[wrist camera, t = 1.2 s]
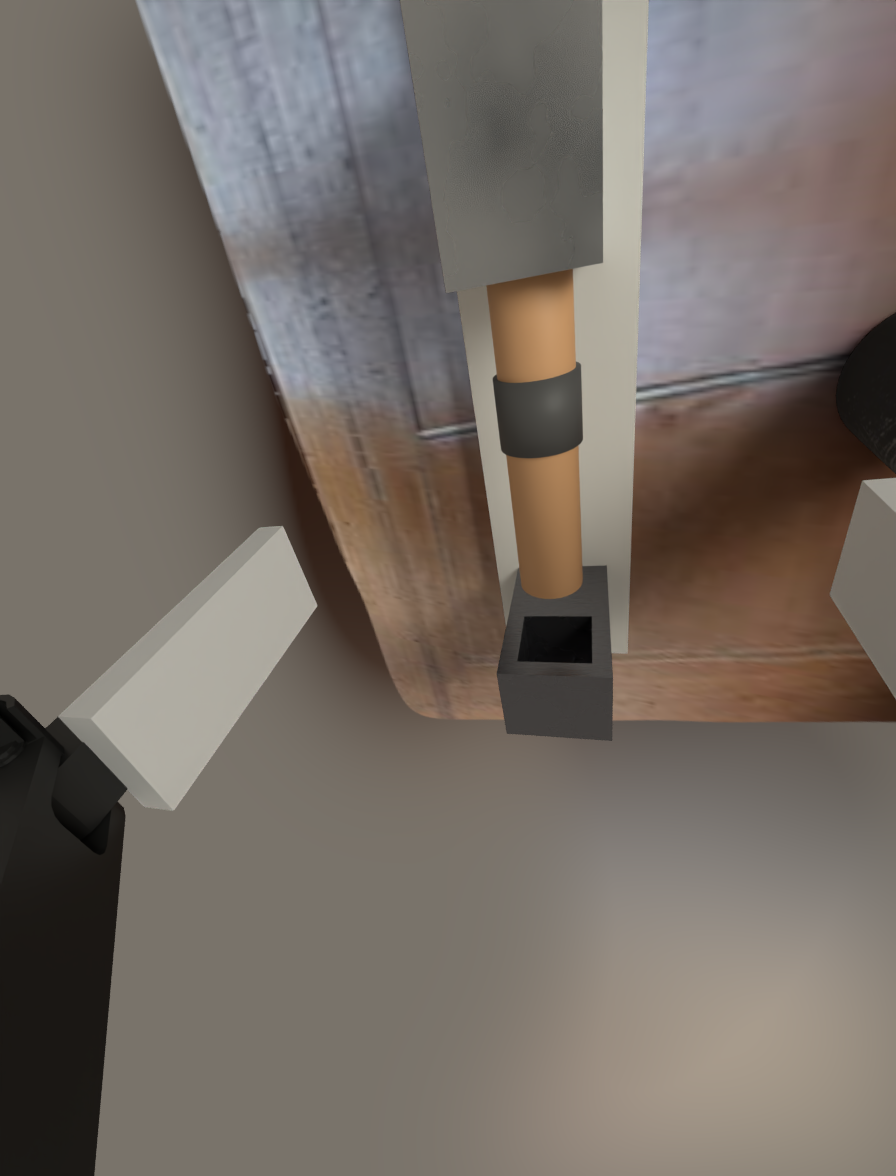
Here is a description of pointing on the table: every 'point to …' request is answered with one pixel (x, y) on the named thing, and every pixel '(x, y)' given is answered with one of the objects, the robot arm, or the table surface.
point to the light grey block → (510, 133)
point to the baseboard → (588, 339)
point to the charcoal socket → (559, 662)
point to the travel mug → (872, 392)
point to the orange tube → (540, 426)
